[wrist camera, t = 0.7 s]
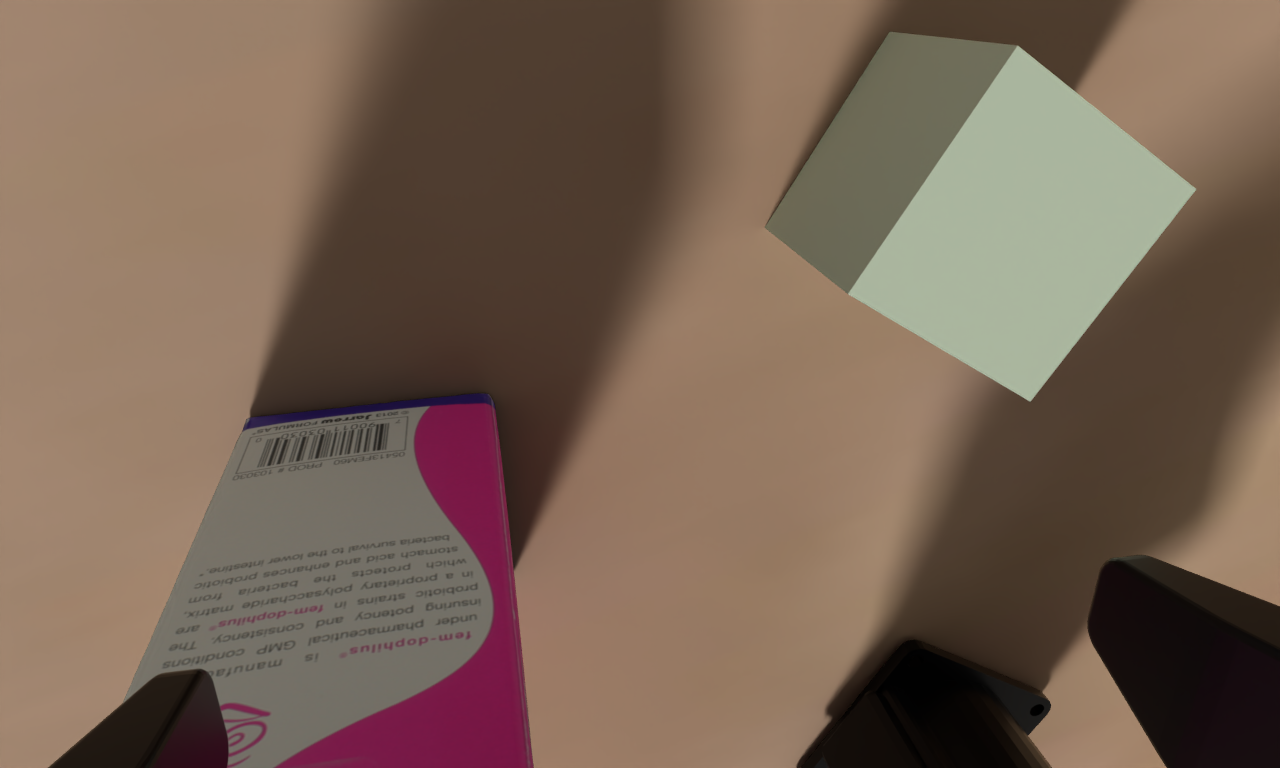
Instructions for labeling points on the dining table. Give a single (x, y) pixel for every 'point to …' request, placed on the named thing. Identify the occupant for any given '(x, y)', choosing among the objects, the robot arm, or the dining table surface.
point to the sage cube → (978, 204)
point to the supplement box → (357, 593)
